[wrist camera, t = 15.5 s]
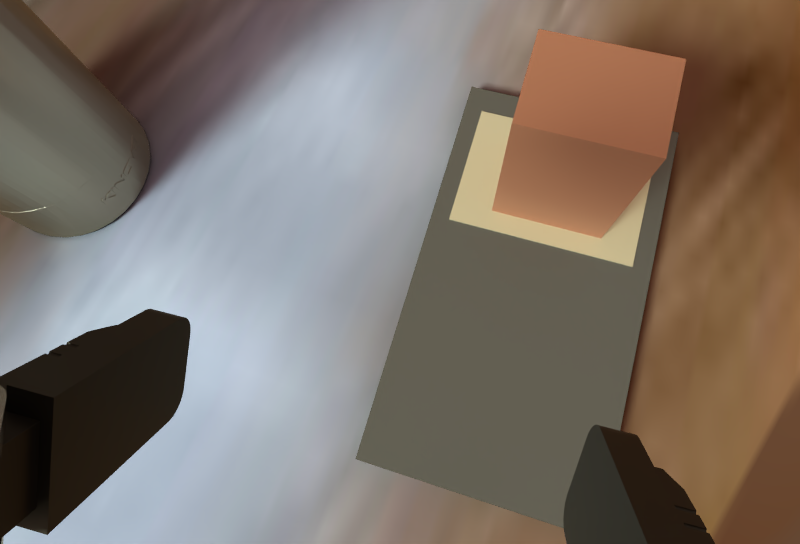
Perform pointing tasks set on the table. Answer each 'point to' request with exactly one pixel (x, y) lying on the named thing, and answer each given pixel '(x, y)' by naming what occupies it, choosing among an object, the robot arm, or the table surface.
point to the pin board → (510, 334)
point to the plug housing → (586, 131)
